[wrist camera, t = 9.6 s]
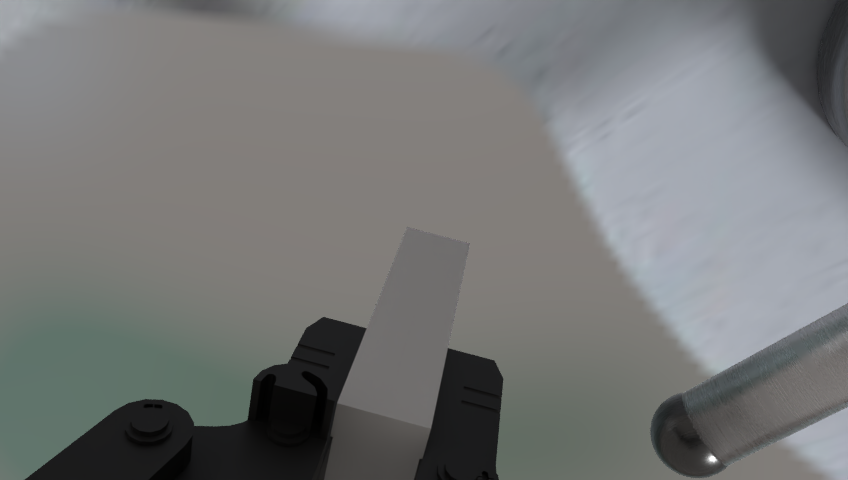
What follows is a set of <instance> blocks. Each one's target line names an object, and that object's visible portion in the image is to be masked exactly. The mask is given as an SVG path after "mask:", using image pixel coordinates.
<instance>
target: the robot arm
mask: <svg viewBox="0 0 848 480" xmlns="http://www.w3.org/2000/svg"><path fill="white" fill-rule="evenodd" d="M469 245H470V243H467V242H463V241H459V240H455V239H451V238H448V237H444V236H440V235H436V234H432V233H428V232H424V231H420V230H417V229H413V228H409V227H407V228H406V231H405V233H404V236H403V238H402V241H401V243H400V246H399V248H398V251H397V254H396V256H395V258H394V261H393V263H392V266H391V269H390V271H389V274H388V276H387V279H386V281H385V284H384V286H383V289H382V291H381V294H380V296H379V299H378V301H377V304H376V307H375V309H374V312H373V314H372V316H371V319H370V321H369V324H368V327H367V328H363V327H359V326H356V325H352V324H348V323H344V322H341V321H337V320H333V319H329V318H326V317H323V318H321V319H320V320H318V321H317V322H315V323H314V324H312V325H310V326H309V327H307V328H306V330H305V332H304V334H303V335H302V337H301V339H300V341H299V343H298V346H297V347H296V349H295V351H294V352H293V354H292V357H291V360H289V362H288V364H281V365H274V366H272V367H269V368H267V369H265V370H262V371H261V372H260V373H259V374H258V375H257V376H256V377H255V378H254V379H253V386H252V393H251V400H250V407H249V416H248V420H247V421H245V422H243V423H239V424H235V425H231V426H218V427H213V426H211V427H209V426H194V422H193V420H192V419H191V417H190V415H189V413H188V412H187V411H186V410H184V409H183V408H181V407H180V406H178V405H177V404H174V403H171V402H167V401H164V400H149V399H145V400H141V401H136V402H132V403H128V404H126V405H124V406H122V407H120V408H119V409H117V410H115V411H113V412H112V413H111V414H110V415H108V416H107V417H106V418H104V419H103V420H102V421H101V422H99V423H98V424H97V425H95V426H94V427H93V428H91V429H90V430H89V431H88V432H86V433H85V434H84V435H82V436H81V437H80V438H78V439H77V440H76V441H74V442H73V443H72V444H71V445H69V446H68V447H67V448H65V449H64V450H63V451H62V452H60V453H59V454H58V455H56V456H55V457H54V458H52V459H51V460H50V461H48V462H47V463H46V464H45V465H43V466H42V467H41V468H40V469H38V470H37V471H35V472H34V473H33V474H32V475H30V476H29V477H28V478H26V479H25V480H499V479H498V475H497V474H496V454H497V444H498V432H499V421H500V409H501V397H502V386H503V377H502V375H501V373H500V371H499V369H498V367H497V365H496V363H495V361H494V360H490V359H486V358H482V357H479V356H475V355H471V354H467V353H464V352H460V351H456V350H452V349H449V348H448V345H449V340H450V336H451V331H452V326H453V321H454V317H455V311H456V306H457V302H458V297H459V293H460V287H461V283H462V278H463V273H464V269H465V264H466V259H467V255H468V250H469Z"/></svg>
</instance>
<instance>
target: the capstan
mask: <svg viewBox="0 0 848 480" xmlns="http://www.w3.org/2000/svg"><path fill="white" fill-rule="evenodd" d="M817 80H818V92H819V96H820V101H821V105H822V108H823V110H824V113H825V115H826V118H827V120H828V122H829V124H830V125H831V127H832V129H833V130H834V132H835V133H836V135H837V136H838V137H839V138H840V139H841V141H842V142H843V143H844V144H845V145H846V146H847V147H848V0H839V2H838V3H837V5H836V7H835V9H834V11H833V13H832V15H831V17H830V19H829V21H828V24H827V27H826V29H825V32H824V35H823V38H822V42H821V46H820V51H819V56H818V67H817ZM847 407H848V303H847V304H845V305H844V306H842V307H840V308H838V309H836V310H834V311H832V312H831V313H829V314H827V315H825V316H823V317H821V318H820V319H818V320H816V321H814V322H812V323H810V324H809V325H807V326H805V327H803V328H801V329H799V330H798V331H796V332H794V333H792V334H790V335H788V336H787V337H785V338H783V339H781V340H779V341H777V342H776V343H774V344H772V345H770V346H768V347H766V348H765V349H763V350H761V351H759V352H757V353H755V354H754V355H752V356H750V357H748V358H746V359H744V360H743V361H741V362H739V363H737V364H735V365H733V366H732V367H730V368H728V369H726V370H724V371H722V372H720V373H719V374H717V375H715V376H713V377H711V378H709V379H708V380H706V381H704V382H702V383H700V384H698V385H697V386H695V387H693V388H691V389H689V390H687V391H686V392H684V393H679V394H676V395H674V396H672V397H670V398H668V399H667V400H666V401H664V402H663V403H662V404H661V405H660V406H659V408H658V409H657V410H656V412H655V414H654V416H653V419H652V423H651V430H650V431H651V441H652V445H653V447H654V450H655V452H656V454H657V455H658V457H659V458H660V459H661V461H662V462H663V463H664V464H665V465H666V466H667V467H669V468H670V469H671V470H673V471H675V472H676V473H678V474H681V475H683V476H686V477H691V478H705V477H710V476H713V475H715V474H718V473H719V472H721V471H722V470H724V469H725V468H726V467H727V466H728V465H730V464H732V463H734V462H737V461H739V460H741V459H743V458H745V457H747V456H749V455H751V454H753V453H755V452H757V451H759V450H761V449H763V448H765V447H767V446H769V445H771V444H773V443H775V442H777V441H779V440H781V439H784V438H786V437H788V436H790V435H792V434H794V433H796V432H798V431H800V430H802V429H804V428H806V427H808V426H810V425H812V424H814V423H816V422H818V421H820V420H822V419H824V418H826V417H828V416H830V415H832V414H835V413H837V412H839V411H841V410H843V409H845V408H847Z"/></svg>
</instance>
